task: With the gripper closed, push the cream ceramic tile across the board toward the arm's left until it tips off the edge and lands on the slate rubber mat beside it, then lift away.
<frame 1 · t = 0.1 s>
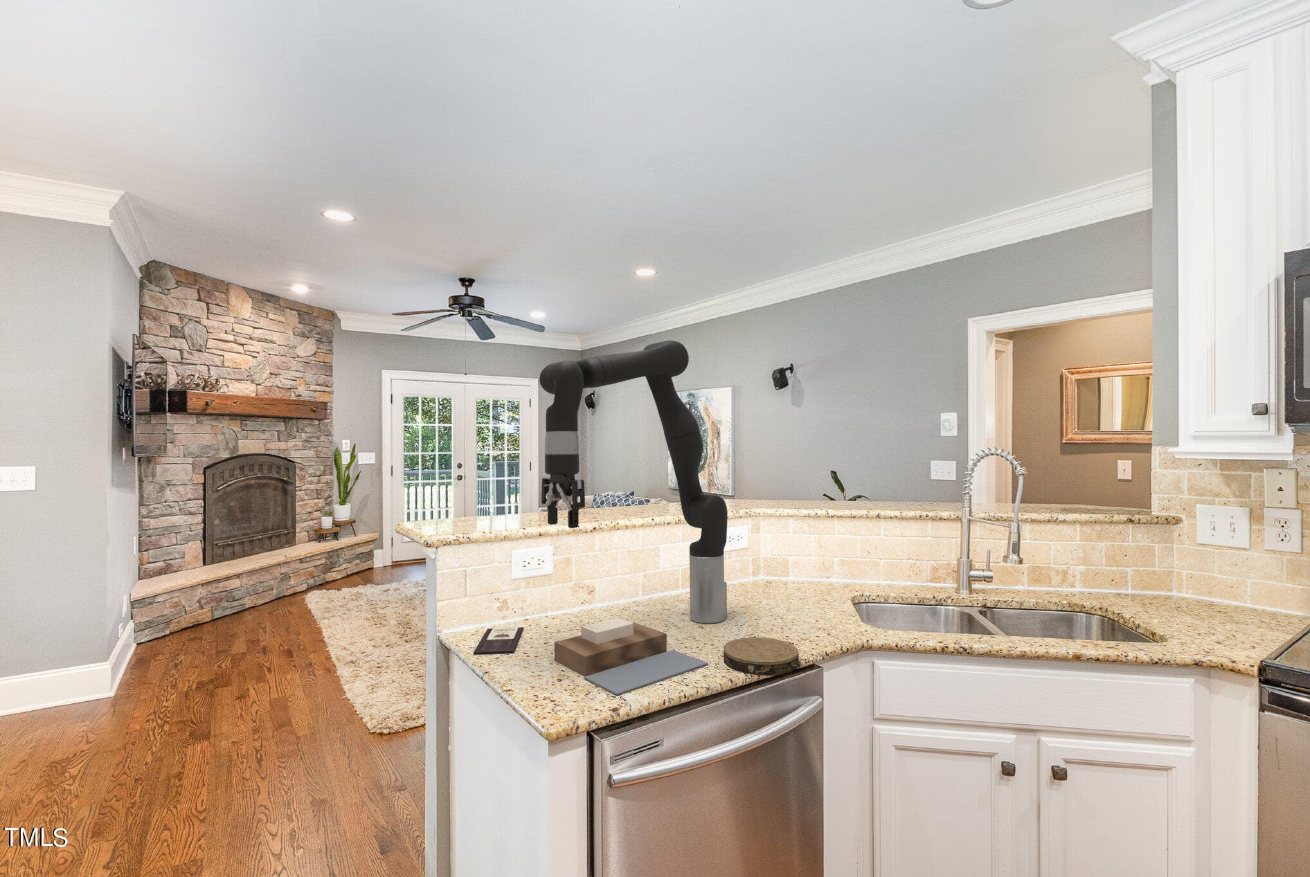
hand: (562, 526, 134), 29 cm above the worktop, tool pointing down, fingers open, 8 cm apart
chocolate bar: (500, 643, 145), on the worktop
brown round disc: (760, 663, 130), on the worktop
tile: (607, 630, 136), point 5 cm above the worktop, touching board
mat: (647, 671, 125), on the worktop
board: (611, 655, 135), on the worktop
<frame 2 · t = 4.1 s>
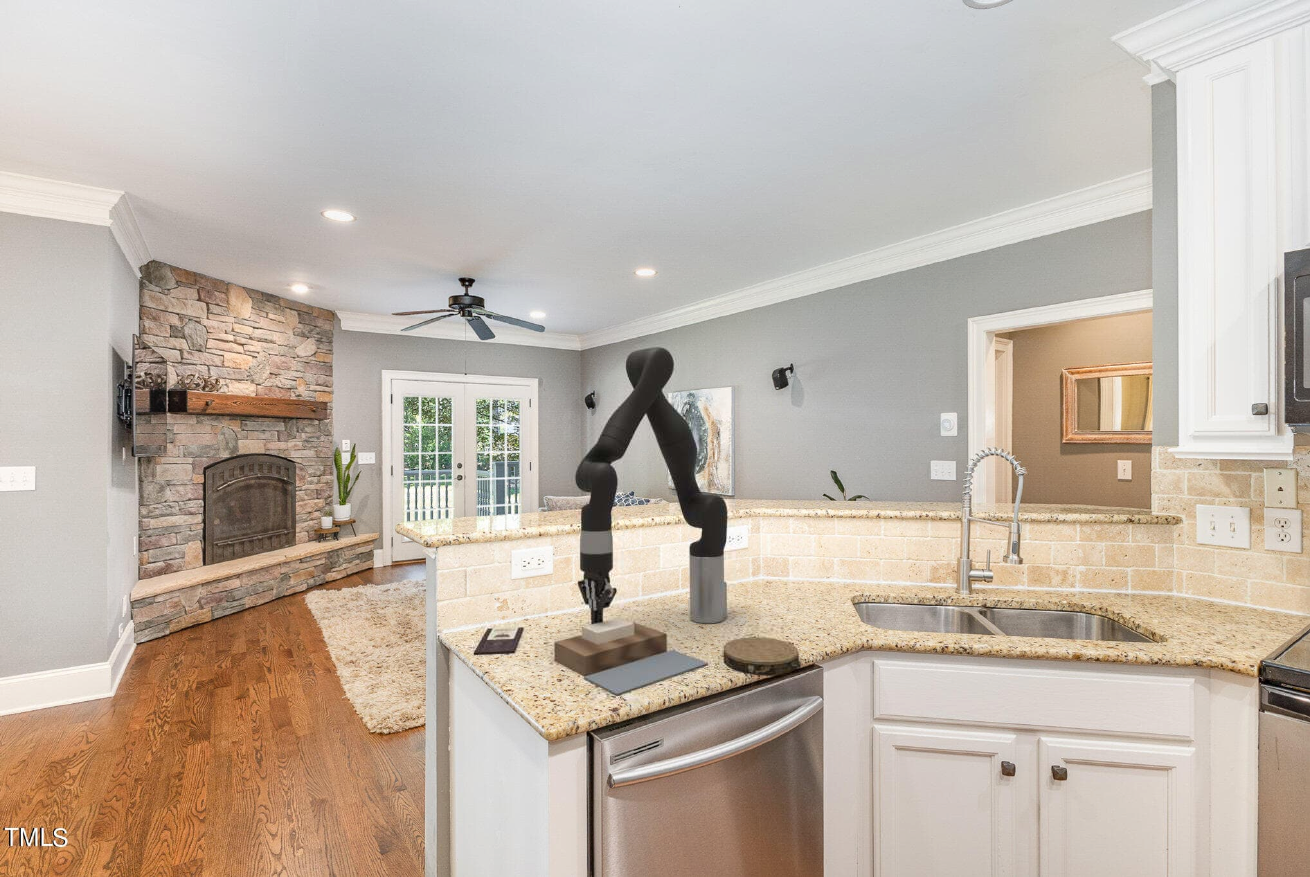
hand: (596, 625, 139), 6 cm above the worktop, tool pointing down, fingers closed
tile: (608, 630, 135), point 5 cm above the worktop, touching board, gripper
everything else where it was.
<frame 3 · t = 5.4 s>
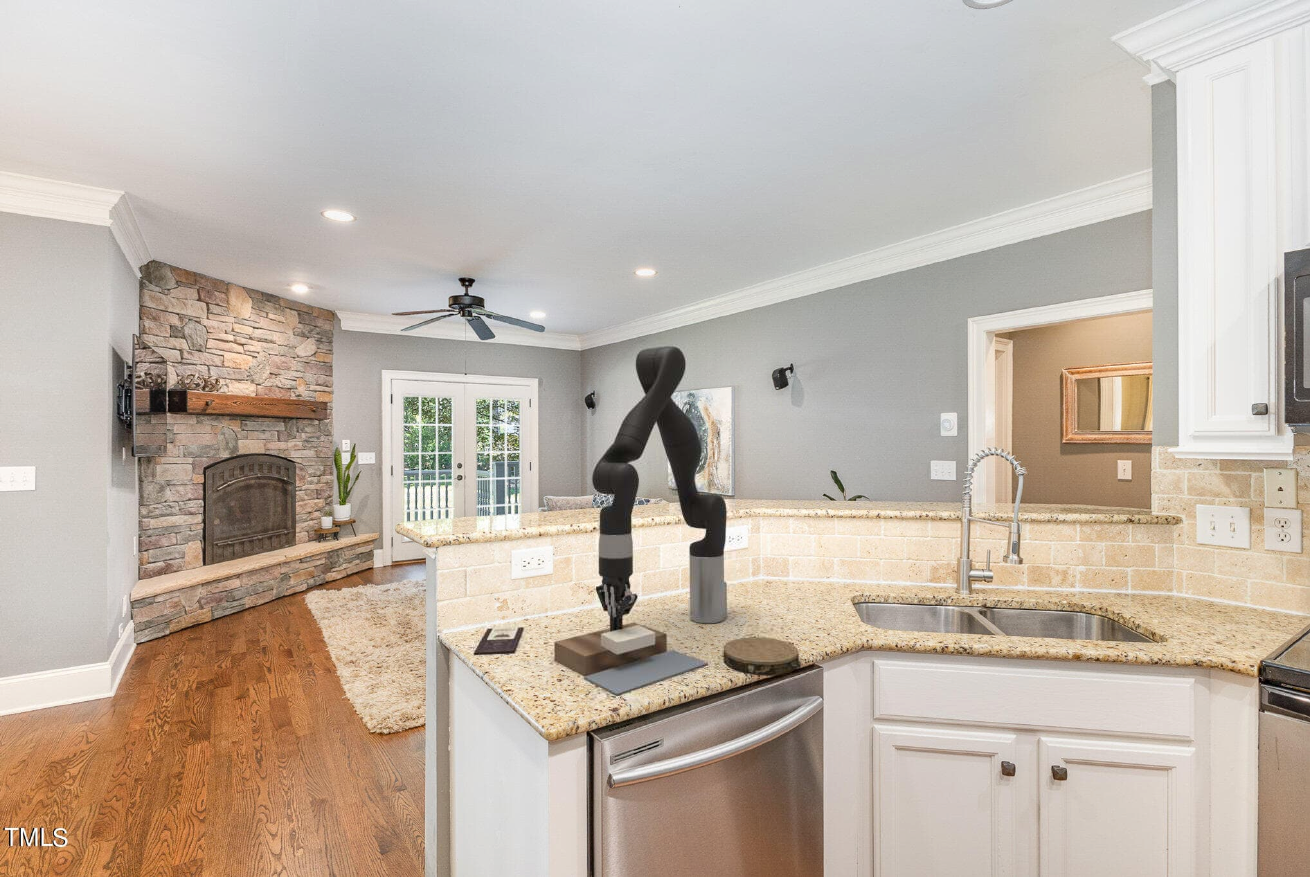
hand: (616, 632, 133), 6 cm above the worktop, tool pointing down, fingers closed
tile: (628, 639, 130), point 5 cm above the worktop, touching board, gripper
everything else where it was.
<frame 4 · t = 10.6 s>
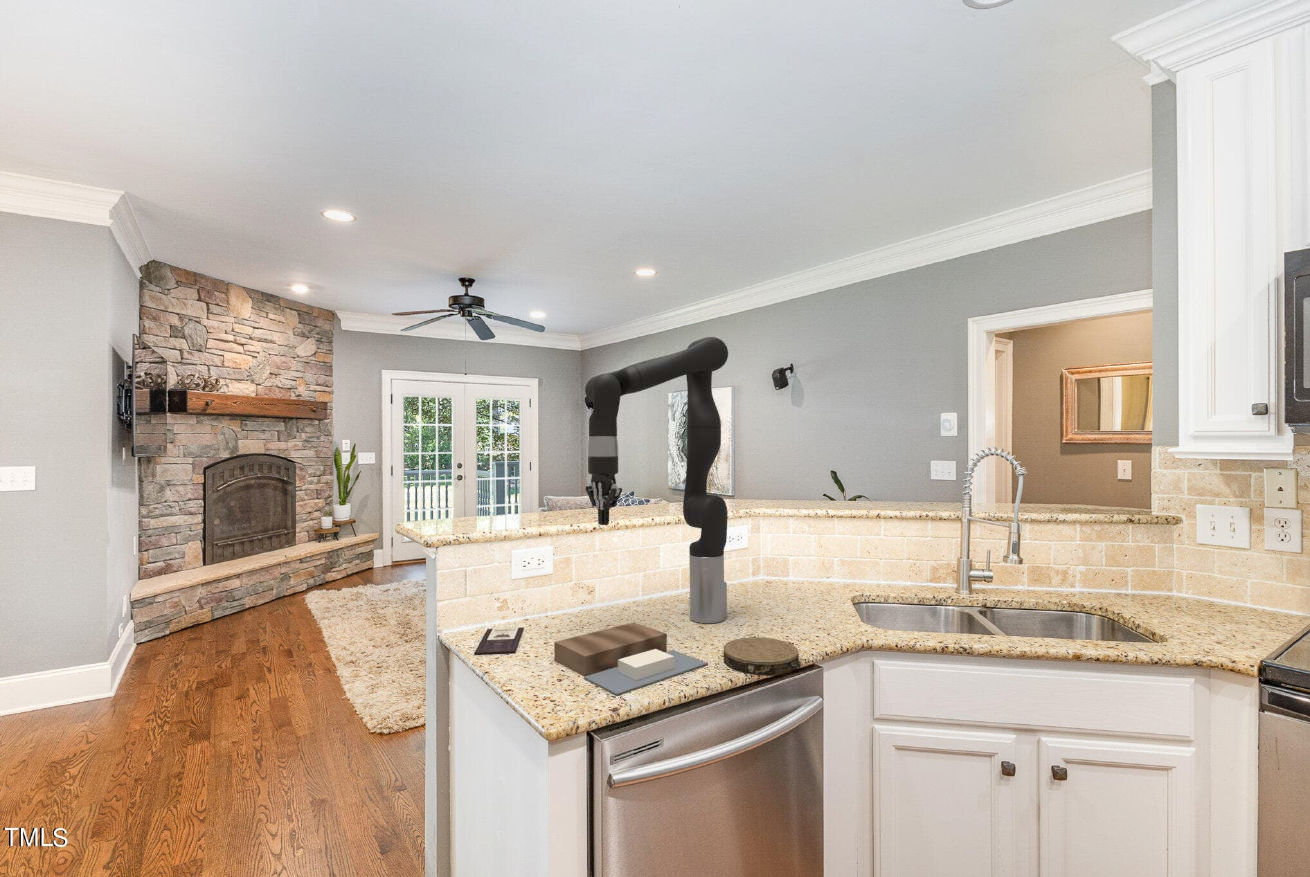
hand: (603, 524, 151), 27 cm above the worktop, tool pointing down, fingers closed
tile: (646, 664, 125), point 2 cm above the worktop, tilted 180°, touching mat
everything else where it was.
at the end: tile inside the target area (0.8 cm from its centre), point 1.6 cm above the worktop; tile touching mat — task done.
